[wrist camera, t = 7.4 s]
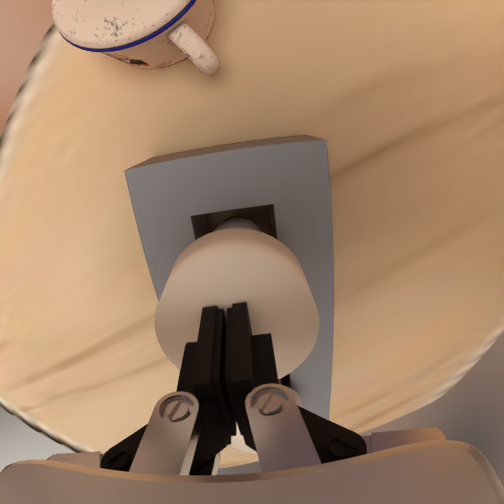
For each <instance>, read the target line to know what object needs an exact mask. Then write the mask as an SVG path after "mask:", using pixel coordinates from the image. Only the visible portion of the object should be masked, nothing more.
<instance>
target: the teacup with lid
mask: <svg viewBox="0 0 504 504" xmlns="http://www.w3.org/2000/svg"><path fill="white" fill-rule="evenodd" d="M52 16H53V20H54V23H55V25H56V27H57V29H58V31H59V33H60V34H61V35H62V37H63V38H64V39H65V40H66V41H67V42H69V43H70V44H72V45H73V46H75V47H77V48H80V49H83V50H87V51H92V52H101V53H104V54H106V55H108V56H111V57H113V58H115V59H118V60H120V61H122V62H124V63H127V64H129V65H131V66H135V67H139V68H151V69H152V68H161V67H165V66H169V65H172V64H175V63H177V62H179V61H181V60H183V59H185V58H186V57H187V58H188V59H189V60H190V61H191V62H192V63H193V64H194V65H195V66H196V67H197V68H198V69H199V70H200V71H201V72H202V73H203V74H205V75H211V74H213V73H214V72H215V71H217V70H218V69H219V67H220V60H219V58H218V57H217V55H216V54H215V53H214V52H213V50H212V49H211V48H210V47H209V46H208V45H207V44H206V42H205V39H206V38H207V37H208V35H209V33H210V31H211V28H212V26H213V22H214V16H215V8H214V3H213V0H52Z"/></svg>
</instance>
